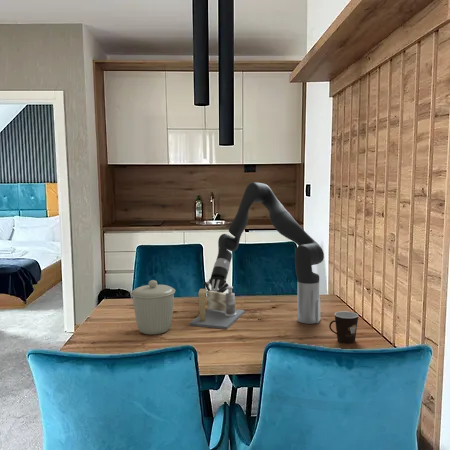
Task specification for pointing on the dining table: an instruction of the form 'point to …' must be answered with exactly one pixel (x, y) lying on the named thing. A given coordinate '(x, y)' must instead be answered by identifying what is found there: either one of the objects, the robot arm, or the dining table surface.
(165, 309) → the canister
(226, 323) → the board
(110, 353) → the dining table surface
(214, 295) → the white wavy panel
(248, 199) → the robot arm
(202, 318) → the post
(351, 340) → the coffee mug
